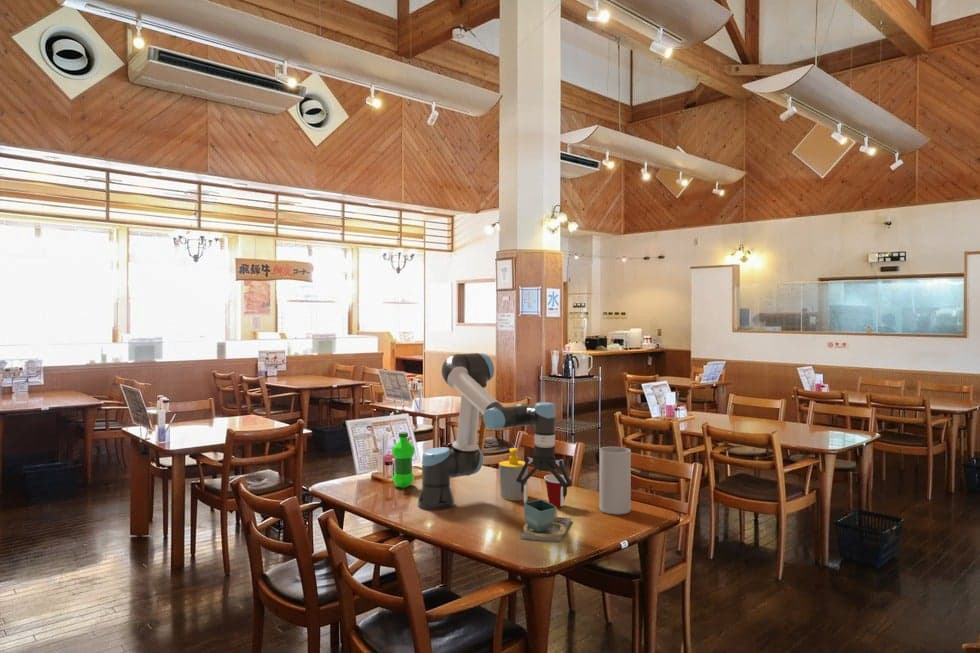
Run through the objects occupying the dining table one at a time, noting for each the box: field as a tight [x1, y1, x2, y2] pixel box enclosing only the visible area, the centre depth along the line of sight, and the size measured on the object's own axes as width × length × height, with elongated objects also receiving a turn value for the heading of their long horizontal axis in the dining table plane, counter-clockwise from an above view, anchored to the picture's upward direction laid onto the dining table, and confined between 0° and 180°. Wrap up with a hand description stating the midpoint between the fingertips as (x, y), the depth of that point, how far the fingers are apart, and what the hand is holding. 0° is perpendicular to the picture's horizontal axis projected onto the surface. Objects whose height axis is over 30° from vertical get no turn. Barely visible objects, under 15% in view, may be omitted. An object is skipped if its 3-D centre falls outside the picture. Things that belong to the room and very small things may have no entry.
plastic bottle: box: [391, 431, 416, 489], centre depth 302 cm, size 10×10×25 cm
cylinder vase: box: [598, 446, 632, 516], centre depth 263 cm, size 12×12×25 cm
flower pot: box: [523, 499, 558, 532], centre depth 234 cm, size 9×9×9 cm
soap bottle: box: [498, 447, 529, 501], centre depth 284 cm, size 13×13×21 cm
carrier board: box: [520, 502, 572, 543], centre depth 239 cm, size 15×25×8 cm, turn 164°
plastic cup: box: [543, 474, 567, 509], centre depth 269 cm, size 11×11×12 cm
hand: (543, 503), depth 235 cm, fingers open, 13 cm apart
